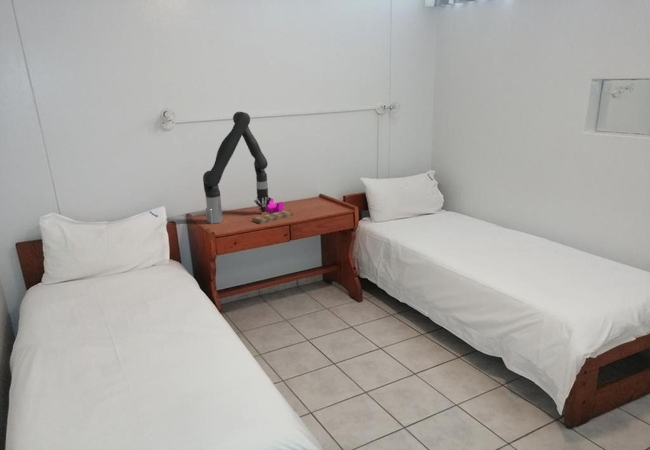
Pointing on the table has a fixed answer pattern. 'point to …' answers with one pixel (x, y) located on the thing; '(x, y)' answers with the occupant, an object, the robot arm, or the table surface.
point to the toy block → (274, 206)
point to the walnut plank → (272, 217)
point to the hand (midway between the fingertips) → (263, 212)
